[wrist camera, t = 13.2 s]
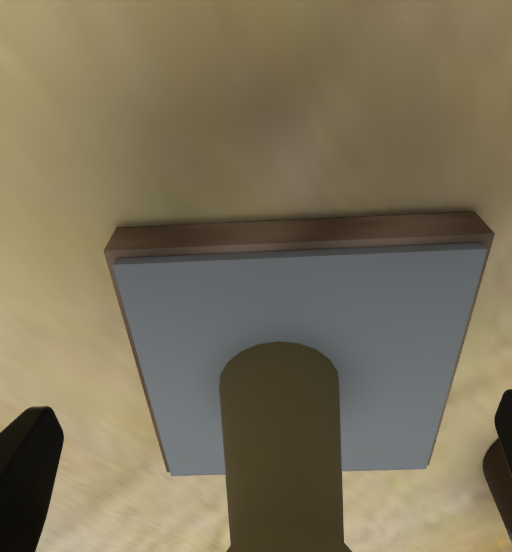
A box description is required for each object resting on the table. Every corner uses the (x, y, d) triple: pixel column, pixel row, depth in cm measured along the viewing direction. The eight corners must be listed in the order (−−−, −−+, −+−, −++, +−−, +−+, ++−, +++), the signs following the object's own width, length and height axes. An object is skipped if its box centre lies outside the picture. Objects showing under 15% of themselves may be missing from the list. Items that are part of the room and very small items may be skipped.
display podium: (474, 211, 20) (500, 239, 18) (418, 436, 29) (431, 472, 27) (116, 227, 20) (100, 257, 18) (172, 443, 29) (165, 479, 27)
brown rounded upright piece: (235, 329, 20) (217, 619, 11) (358, 355, 21) (433, 643, 12) (207, 413, 24) (176, 688, 15) (315, 432, 25) (348, 703, 15)
